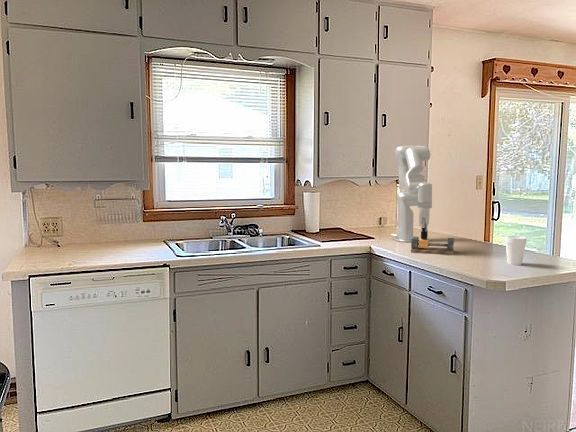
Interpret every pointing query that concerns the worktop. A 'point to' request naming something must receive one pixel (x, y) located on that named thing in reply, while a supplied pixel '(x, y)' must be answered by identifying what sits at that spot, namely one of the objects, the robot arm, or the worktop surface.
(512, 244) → the foam cup
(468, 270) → the worktop surface
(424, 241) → the carriage
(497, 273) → the worktop surface
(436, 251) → the rail board
